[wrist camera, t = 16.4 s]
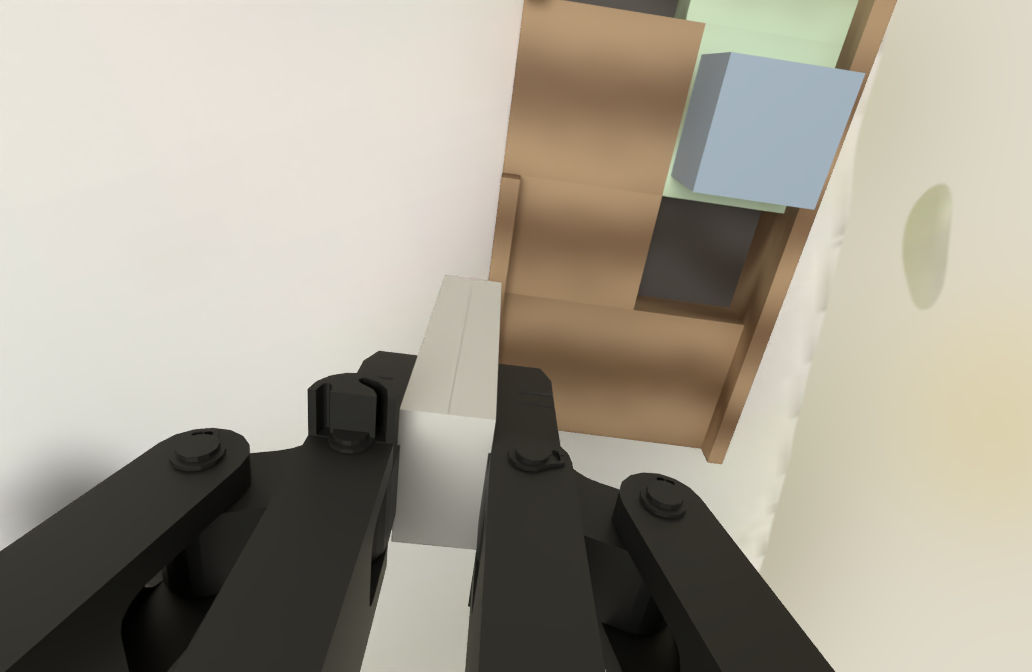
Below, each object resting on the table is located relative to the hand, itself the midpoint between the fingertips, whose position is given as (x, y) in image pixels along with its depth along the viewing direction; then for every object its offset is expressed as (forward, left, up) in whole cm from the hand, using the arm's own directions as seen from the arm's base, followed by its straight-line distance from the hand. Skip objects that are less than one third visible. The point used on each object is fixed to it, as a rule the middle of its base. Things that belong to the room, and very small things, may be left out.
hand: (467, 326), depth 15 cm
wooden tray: (+1, -9, -21) cm, 23 cm away
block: (+5, -12, -18) cm, 22 cm away
